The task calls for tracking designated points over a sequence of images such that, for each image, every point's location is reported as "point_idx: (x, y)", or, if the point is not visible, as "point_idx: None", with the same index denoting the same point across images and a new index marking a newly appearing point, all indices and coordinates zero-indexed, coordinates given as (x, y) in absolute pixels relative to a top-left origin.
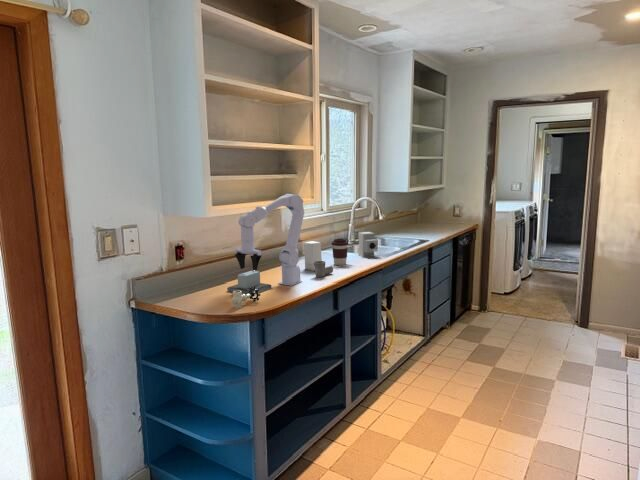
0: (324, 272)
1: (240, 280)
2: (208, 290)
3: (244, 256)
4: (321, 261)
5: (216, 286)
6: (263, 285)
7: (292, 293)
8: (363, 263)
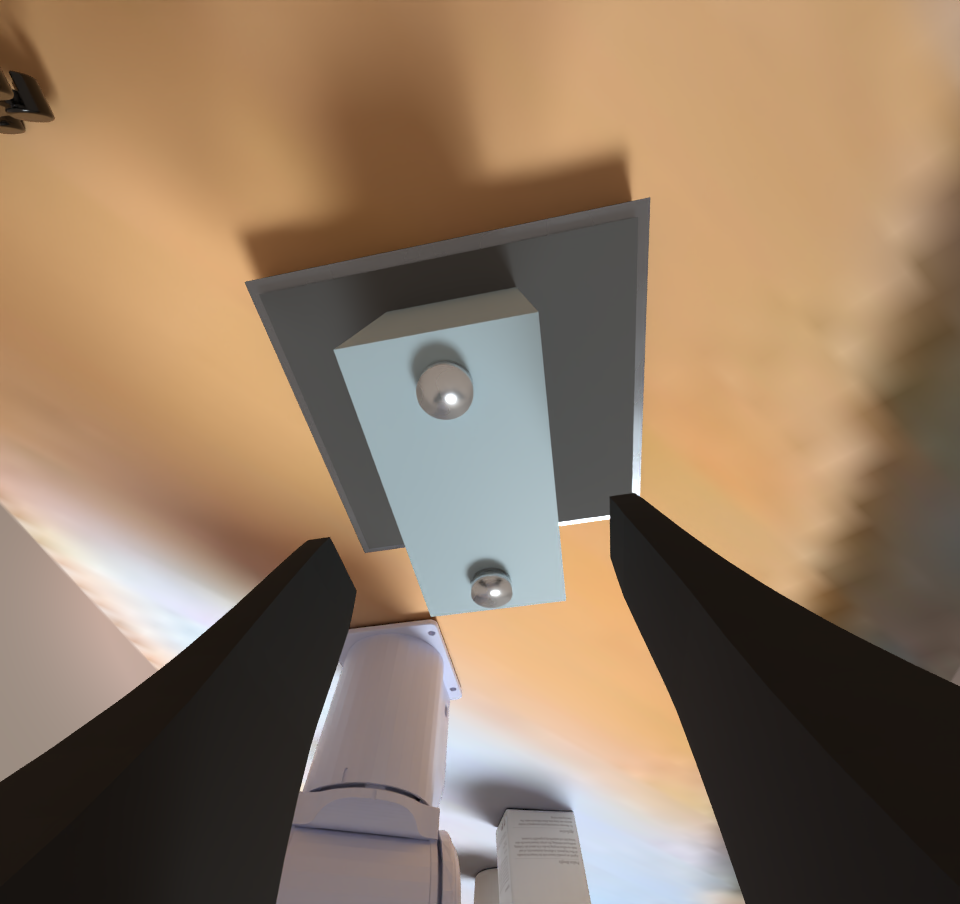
0: None
1: (469, 308)
2: (921, 35)
3: (746, 868)
4: None
5: (905, 268)
6: (375, 500)
7: (133, 531)
8: None
